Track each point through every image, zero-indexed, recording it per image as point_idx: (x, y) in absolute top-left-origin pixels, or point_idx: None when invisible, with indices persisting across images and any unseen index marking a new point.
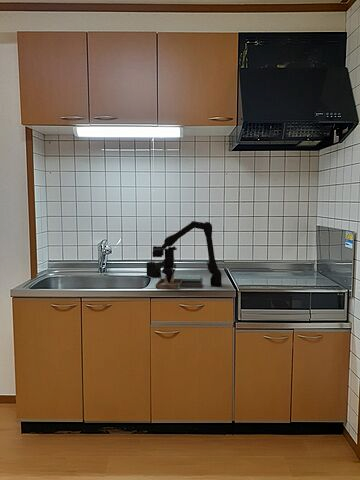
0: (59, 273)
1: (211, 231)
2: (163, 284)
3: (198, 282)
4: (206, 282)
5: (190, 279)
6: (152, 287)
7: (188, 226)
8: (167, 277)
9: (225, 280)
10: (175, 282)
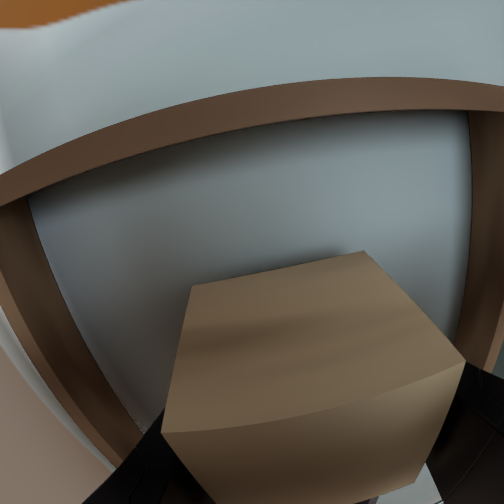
0: None
1: None
2: (24, 332)
3: (362, 501)
4: (429, 475)
5: None
6: (49, 85)
7: None
8: (138, 466)
9: None
10: (462, 319)
